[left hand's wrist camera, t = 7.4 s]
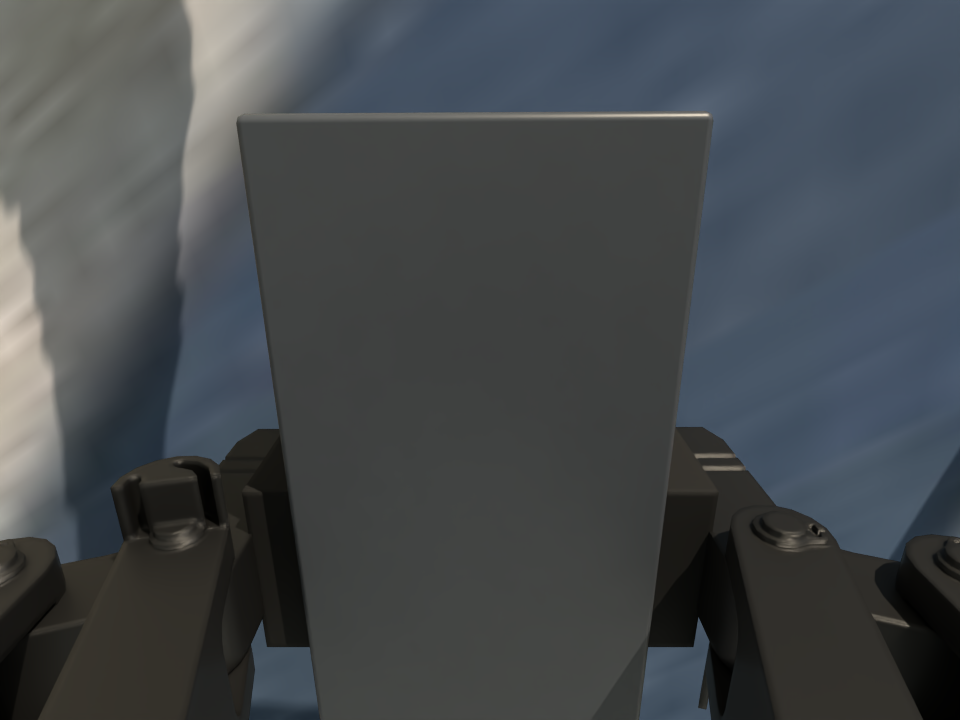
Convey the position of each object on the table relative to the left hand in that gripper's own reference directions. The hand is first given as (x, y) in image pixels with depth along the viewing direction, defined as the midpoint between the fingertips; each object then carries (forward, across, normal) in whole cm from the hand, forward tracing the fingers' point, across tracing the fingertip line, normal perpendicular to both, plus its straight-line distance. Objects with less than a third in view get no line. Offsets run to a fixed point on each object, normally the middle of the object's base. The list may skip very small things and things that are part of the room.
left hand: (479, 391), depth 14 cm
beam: (+1, 0, -35) cm, 35 cm away
